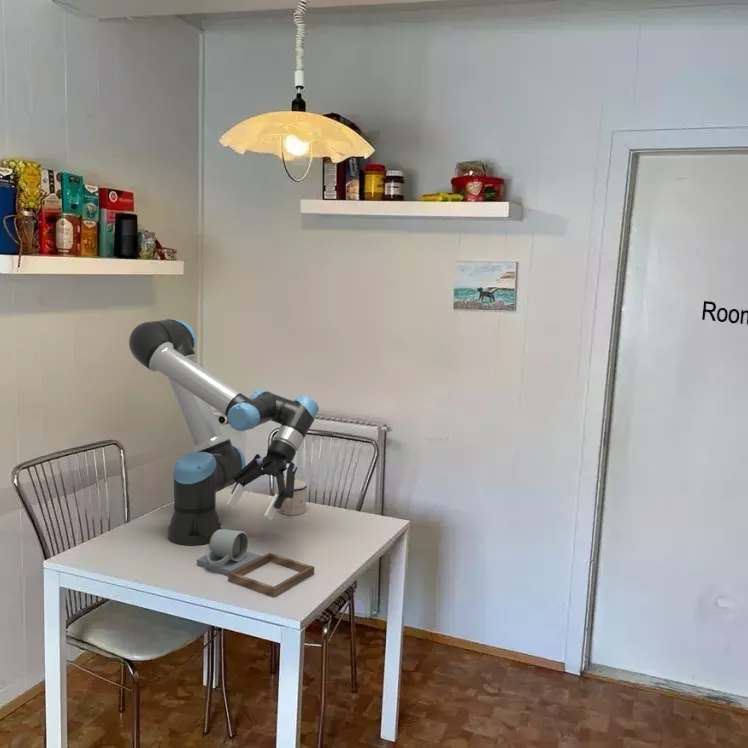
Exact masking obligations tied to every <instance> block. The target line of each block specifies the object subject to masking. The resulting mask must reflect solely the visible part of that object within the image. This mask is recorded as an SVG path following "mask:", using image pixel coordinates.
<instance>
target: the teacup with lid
mask: <svg viewBox="0 0 748 748" xmlns="http://www.w3.org/2000/svg"><path fill="white" fill-rule="evenodd" d="M284 482H285V488H286V479H284ZM307 487H308V485H307V483H306V482H305V481H304V480H300V479H299V478H297V477H296V475H295V480H294V494H293V498H291V499H290V498H286V499H285V500H284V501H283V503H282V505H281V507H280V508H279V509H278V512H279V513H280V514H281V515H284V516H300V515H302V514H304V513H305V512H306V506H307V505H306V504H307V502H306V501H307V500H306V499H307Z"/></svg>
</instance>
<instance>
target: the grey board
mask: <svg viewBox="0 0 748 748" xmlns="http://www.w3.org/2000/svg"><path fill="white" fill-rule="evenodd" d="M207 556H208V554H206V555H203V556H201V557H199V558H197V559H196V565H197V566H199V567H202V568H204V567H205V569H207V570H210V569H211V570H210V571H213V572H216V573H219V574H222V575H224V576H227V577H228V573H229V572H232V571H234V570H236V569H238V568H240V567H242V566H244V565H246V564H248V563H250V562H252V561H254V560H256V559H258V558H260V557H262V556H263V555H260V554H257V553H254V552H251V551H248V550H247V553H246V555H245V556H244V558H243V559H242V560H240V561H238V562H236V561H232V560H228V561H227V562H226V563H225V564H223V565H221V566H212V565H210V564H209V562H208V559H207ZM222 559H223V558H221V557H217V556H215V555H213V556H212V557H211V559H210V560H211V561H212V562H217V561H220V560H222Z"/></svg>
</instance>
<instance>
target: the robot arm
mask: <svg viewBox="0 0 748 748" xmlns="http://www.w3.org/2000/svg"><path fill="white" fill-rule="evenodd" d="M196 342H197V338H196V334H195V332H194V329H193V328H192V327H191V326H190V324H188V323H187V322H186V321H184V320H182V319H174V318H173V319H172V318H167V319H163V320H155V321H145V322H142V323H140V324H138V325H137V326H136V327H134V329H133V330H132V331H131V333H130V336H129V339H128V345H129V350H130V352H131V354H132V355H133V357H134V359H135V360H137V361H138V362H139V363H140V364H141V365H143V367H145V368H147V369H148V370H150V371H152V372H160V373H161V374H162V375H164V376H165V377H167V379H168V381H169V384H170V386H171V389H172V391H173V394H174V396H175V398H176V401H177V403H178V406H179V409H180V411H181V413H182V416H183V419H184V420H185V423H186V425H187V428H188V430H189V433H190V436H191V438H192V440H193V443H194V446H195V447H194V449H193V451H192V452H191V453H186V454H183V455H181V456H180V457H178V458H177V459H176V461H175V462H174V465H173V473H172V475H173V514H172V517H171V519H170V520H171V521H170V525H169V526H168V528H167V538H168V540H169V541H170V542H172V543H174V544H177V545H182V546H183V545H184V546H199V545H200V546H201V545H207V544H209V542H210V539H211V536H212V535H213V533H214V532H215V531H217V530H220V529H223V527H222V524H221V522H220V519H219V515H218V512H217V507H216V502H217V500H216V498H217V497H216V493H218V492H220V491H222V490H224V489H225V488H227V487H230V486H233V485H234V484H235V483H236V484H235V485H234V487H233V489H232V490H231V495H230V497H229V499H228V501H227V502H226V505H227V506H228V507H229V508H230V509H233V510H234V509H235V507H236V506H237V504H238V502H239V500H240V498H241V497H242V495H243V493H244V491H245V490H246V488H245V487H246V486H247V485H249V484H250V483H252V482H253V481H255V480H256V479H258V478H260V477H261V476H265V475H267V476H272V477H274V478H275V479H276V483H277V484H276V485H277V489H278V492H277V493H275V495H274V496H273V499H272V500H271V502H270V504H269V506H268V507H267V510H266V511H265V513H264V515H263V516H264V517H265V518H267V520H268V521H272V520H273V518H274V516H275V514H276V513H277V510H279V508H280V507H281V505H282V503H283V501H284V500H285V499H286V498H290V499H291V498H293V494H294V480H295V476H296V473H297V470H298V467H297V465H296V464H295V463H294V462H293V460H294V458H295V456H296V454H297V451H298V450H299V449H300V447H301V445H302V443H303V441H304V440H305V438H306V435H307V434H308V432H309V430H310V428H311V427H312V425H313V423H314V422H315V419H316V417H317V415H318V412H319V409H320V408H319V405H318V403H317V401H315V400H314V399H313V398H311V397H310V396H306V395H298V396H297V397H296V398H295V399H294V400H293V399H288V398H286V397H283V396H280V395H277V394H275V393H272V392H270V391H268V390H263V389H256V390H255V391H254V392H252V393H251V395H250V397H247V396H246V395H244V394H243V393H242V392H240V391H239V390H237V389H235V388H234V387H232V386H230V385H229V384H227V383H226V382H224V381H223V380H222V379H220V378H218V377H217V376H215V375H214V374H212V373H211V372H209V371H208V370H206V369H205V368H204V367H202V366H200V365H199V364H198V363H196V362H194V361H195V358H196V356H197V355H196V352H195V350H194V349H195V348H196ZM212 408H214V409H215V410H216V411H218V412H220V413H222V414H223V415H224V416H226V417H227V422H228V423H229V425H230V426H231V427H232V429H234V430H236V431H238V432H245V431H249V430H252V429H254V428H255V427H258V426H259V425H263V424H266V423H268V422H269V421H272V422H274V423H276V424H280V427H279V429H278V430H277V432H276V434H275V436H274V438H273V439H274V440H272V441H271V442H270V444H269V446H268V448H267V451H266V452H267V453H266V454H265V456H264V457H263V456H261V455H260V454H259V453H256V454H255V456H254V457H253V458H252V460H251V461H250V462H249V463H247V464H246V456H245V455H244V453H243V451H242V449H240V448H238V447H237V446H235V445H233V444H232V441H231V439H230V437H228V436H226V435H223V433H222V431H221V428H220V426H219V425H220V424H219V423H218V420H217V417H216V416H215V413H214V411H213V409H212ZM284 472H286V479H285V475H284V474H285V473H284ZM284 480H286V488H285V482H284Z"/></svg>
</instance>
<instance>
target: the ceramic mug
mask: <svg viewBox="0 0 748 748" xmlns="http://www.w3.org/2000/svg"><path fill="white" fill-rule="evenodd" d="M208 546H209V552H208V553H207V555H208V556H207V559H208V562H209V564H210V565H212V566H221V565H223V564H225V563H226V562H227V561H228V560H232V561H236V562H238V561H240V560H242V559H243V558H244V556H245V555H246V553H247V551H248V549H249V536H248V535H247V533H246V532H244V531H242V530H241V531H240V530H231V529H226V528H225V529H224V528H222V529H220V530H217V531H215V532H214V533H213V535H212V536H211V539H210V542H209V543H208ZM213 555H215V556H217V557H221V558H223V559H222V560H220V561H217V562H212V561H211V560H210V559H211V557H212V556H213Z"/></svg>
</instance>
